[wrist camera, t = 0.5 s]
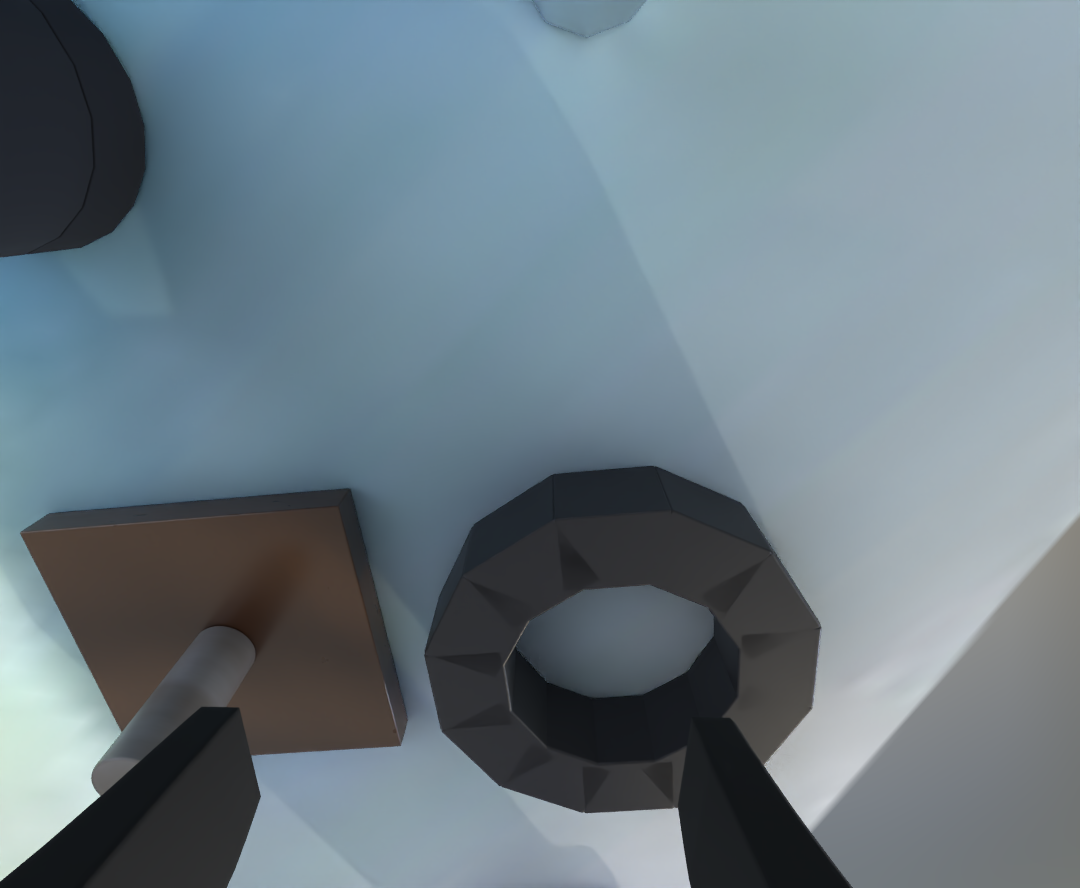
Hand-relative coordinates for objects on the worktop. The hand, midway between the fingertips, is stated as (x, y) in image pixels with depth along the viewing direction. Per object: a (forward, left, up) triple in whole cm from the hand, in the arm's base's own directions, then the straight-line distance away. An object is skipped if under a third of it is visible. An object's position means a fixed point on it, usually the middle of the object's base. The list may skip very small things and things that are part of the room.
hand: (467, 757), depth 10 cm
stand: (-5, +10, -10) cm, 15 cm away
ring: (-6, -3, -10) cm, 12 cm away
